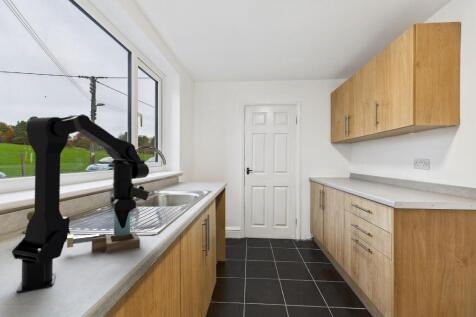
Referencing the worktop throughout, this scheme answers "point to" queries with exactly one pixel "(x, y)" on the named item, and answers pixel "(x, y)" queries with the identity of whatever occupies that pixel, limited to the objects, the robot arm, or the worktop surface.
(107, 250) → the dock
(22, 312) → the worktop surface
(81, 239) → the lock bolt
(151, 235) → the worktop surface
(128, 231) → the peg
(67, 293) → the worktop surface
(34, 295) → the worktop surface
